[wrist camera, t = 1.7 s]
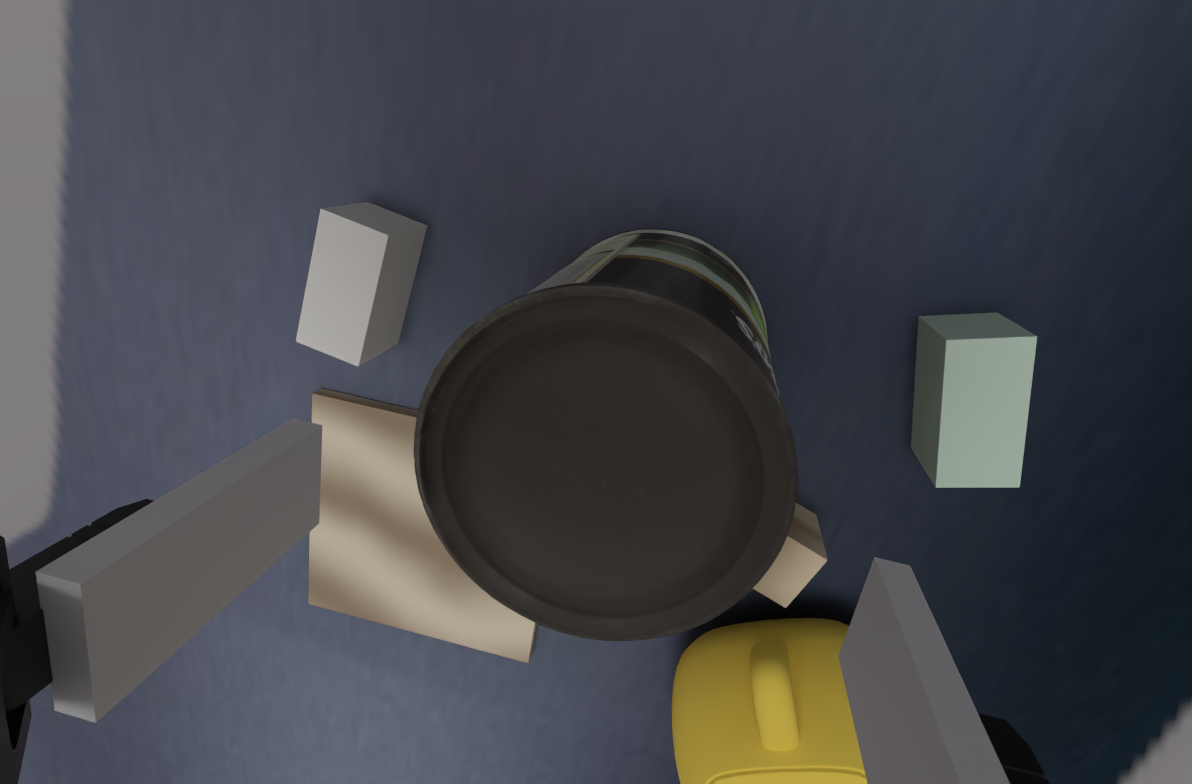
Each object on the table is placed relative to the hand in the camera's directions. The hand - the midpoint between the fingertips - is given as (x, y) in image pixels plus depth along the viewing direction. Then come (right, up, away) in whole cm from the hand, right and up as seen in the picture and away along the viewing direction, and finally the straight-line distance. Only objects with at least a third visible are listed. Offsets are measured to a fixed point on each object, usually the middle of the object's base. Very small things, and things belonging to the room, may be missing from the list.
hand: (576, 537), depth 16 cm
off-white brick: (-10, +9, +16) cm, 21 cm away
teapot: (+11, -13, +20) cm, 26 cm away
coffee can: (+3, +6, +15) cm, 17 cm away
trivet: (-8, -4, +21) cm, 22 cm away
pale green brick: (+16, +4, +13) cm, 21 cm away
